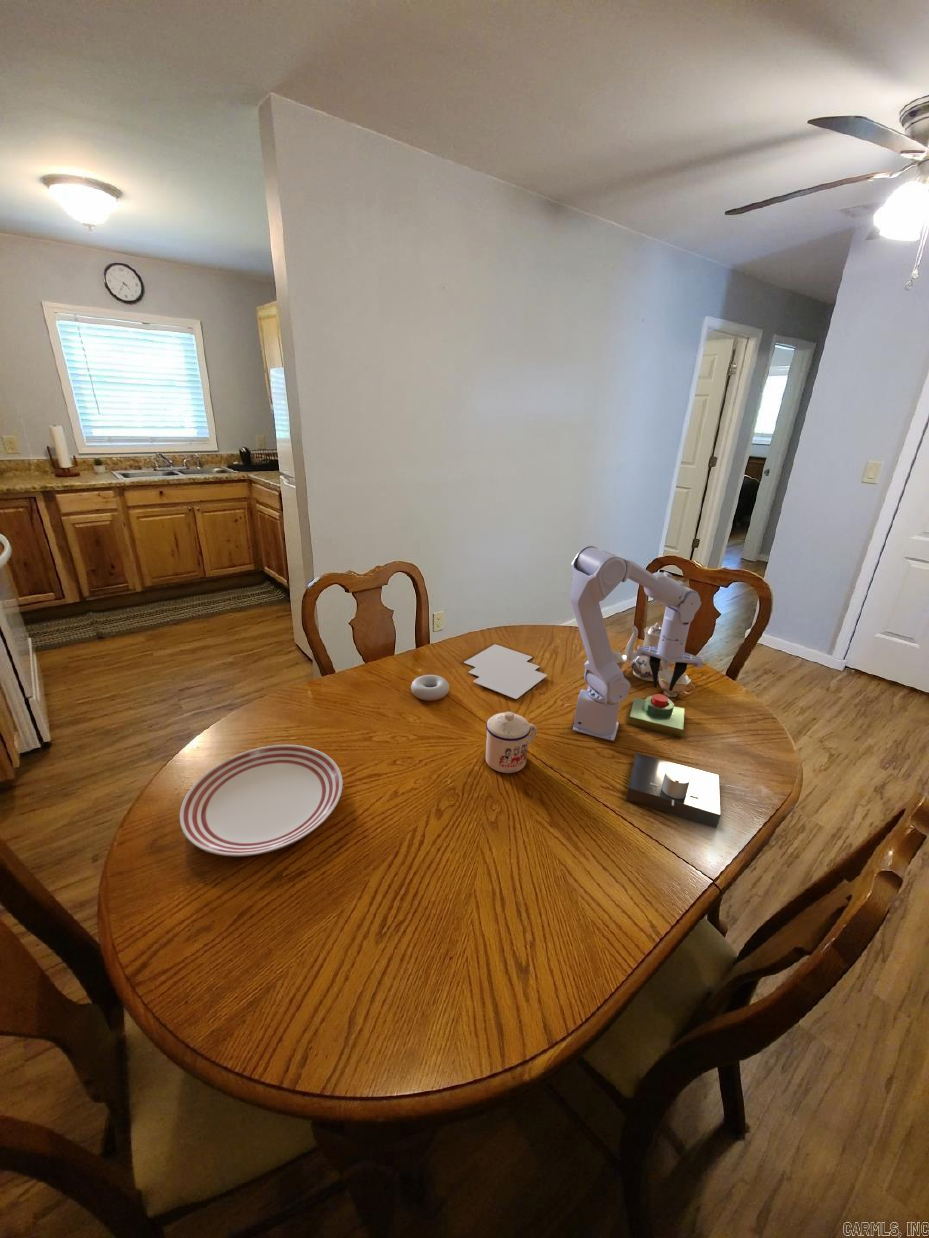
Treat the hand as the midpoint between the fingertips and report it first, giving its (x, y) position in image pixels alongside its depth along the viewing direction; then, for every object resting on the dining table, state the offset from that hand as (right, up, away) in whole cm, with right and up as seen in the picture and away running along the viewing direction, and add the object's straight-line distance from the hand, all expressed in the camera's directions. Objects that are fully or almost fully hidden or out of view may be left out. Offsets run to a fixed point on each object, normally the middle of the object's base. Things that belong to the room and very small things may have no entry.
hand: (662, 687), depth 121 cm
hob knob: (-8, -16, -26) cm, 32 cm away
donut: (-57, -3, +10) cm, 58 cm away
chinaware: (+3, -1, +21) cm, 21 cm away
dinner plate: (-84, -18, -29) cm, 91 cm away
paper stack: (-37, +2, +23) cm, 43 cm away
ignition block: (-1, -8, +1) cm, 8 cm away
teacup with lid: (-38, -14, -14) cm, 43 cm away
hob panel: (-7, -18, -23) cm, 30 cm away
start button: (0, -4, +2) cm, 5 cm away
